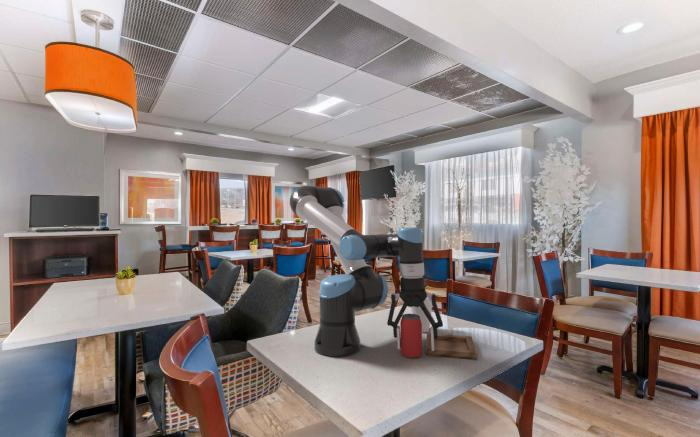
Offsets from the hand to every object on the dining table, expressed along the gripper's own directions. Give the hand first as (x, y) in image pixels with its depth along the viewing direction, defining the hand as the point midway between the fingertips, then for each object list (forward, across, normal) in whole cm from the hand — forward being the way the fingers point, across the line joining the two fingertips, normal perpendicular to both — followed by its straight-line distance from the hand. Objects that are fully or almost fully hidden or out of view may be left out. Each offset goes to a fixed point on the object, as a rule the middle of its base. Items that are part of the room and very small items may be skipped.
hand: (415, 348), depth 102 cm
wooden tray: (+2, +10, +8) cm, 13 cm away
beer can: (+2, -2, 0) cm, 3 cm away
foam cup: (+2, 0, +25) cm, 25 cm away
